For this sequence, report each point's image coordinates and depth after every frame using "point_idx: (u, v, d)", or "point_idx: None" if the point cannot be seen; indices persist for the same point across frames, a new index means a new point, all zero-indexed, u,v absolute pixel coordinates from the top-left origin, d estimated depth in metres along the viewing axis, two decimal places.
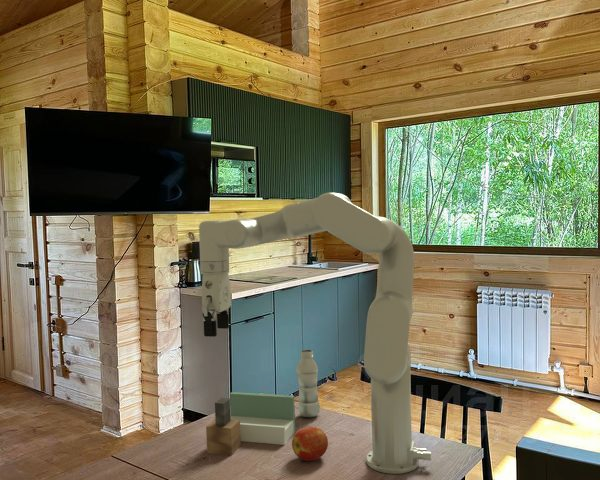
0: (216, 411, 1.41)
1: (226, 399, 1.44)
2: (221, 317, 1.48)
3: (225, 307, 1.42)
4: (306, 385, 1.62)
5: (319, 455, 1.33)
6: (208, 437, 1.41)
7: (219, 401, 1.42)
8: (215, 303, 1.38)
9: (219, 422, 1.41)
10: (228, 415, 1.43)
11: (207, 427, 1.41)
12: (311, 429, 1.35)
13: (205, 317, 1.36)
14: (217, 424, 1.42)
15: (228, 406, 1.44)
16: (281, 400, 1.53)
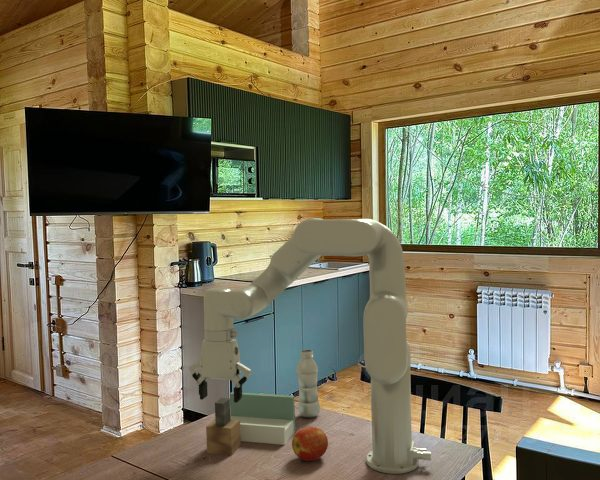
0: (216, 411, 1.41)
1: (226, 399, 1.44)
2: (204, 387, 1.44)
3: None
4: (306, 385, 1.62)
5: (319, 455, 1.33)
6: (208, 437, 1.41)
7: (219, 401, 1.42)
8: None
9: (219, 422, 1.41)
10: (228, 415, 1.43)
11: (207, 427, 1.41)
12: (311, 429, 1.35)
13: (244, 382, 1.41)
14: (217, 424, 1.41)
15: (228, 406, 1.44)
16: (281, 400, 1.53)
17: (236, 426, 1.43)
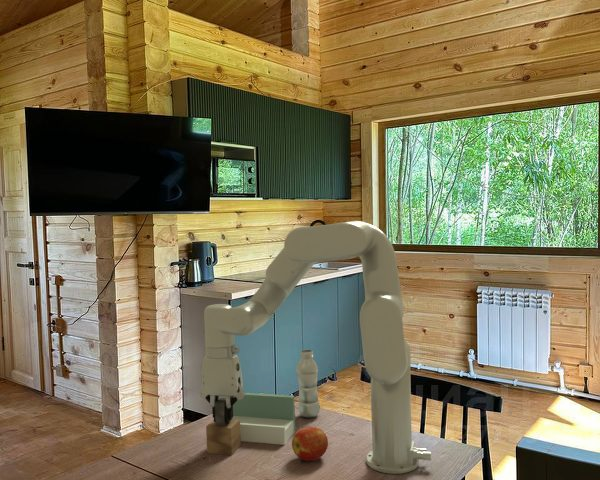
0: (216, 411, 1.41)
1: None
2: None
3: None
4: (306, 385, 1.62)
5: (319, 455, 1.33)
6: (208, 437, 1.41)
7: (219, 401, 1.42)
8: (241, 383, 1.43)
9: (219, 422, 1.41)
10: None
11: (207, 427, 1.41)
12: (311, 429, 1.35)
13: (235, 402, 1.42)
14: (217, 424, 1.41)
15: None
16: (281, 400, 1.53)
17: (236, 426, 1.43)
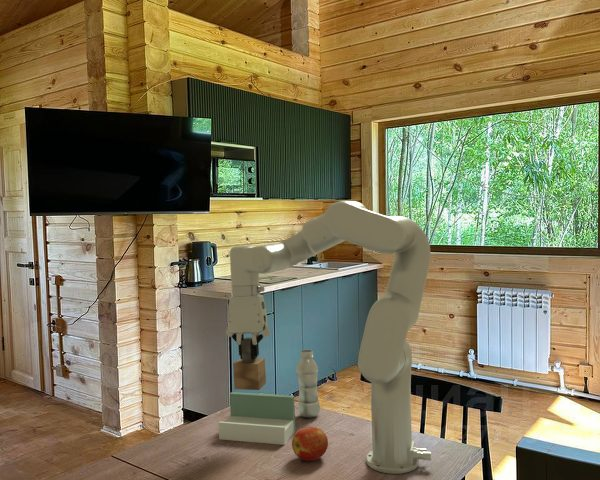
0: (242, 348, 1.46)
1: (251, 338, 1.49)
2: None
3: None
4: (306, 385, 1.62)
5: (319, 455, 1.33)
6: (235, 374, 1.46)
7: (245, 339, 1.48)
8: (266, 321, 1.48)
9: (246, 359, 1.46)
10: None
11: (234, 364, 1.46)
12: (311, 429, 1.35)
13: (260, 339, 1.47)
14: (244, 361, 1.47)
15: None
16: (281, 400, 1.53)
17: (262, 363, 1.48)
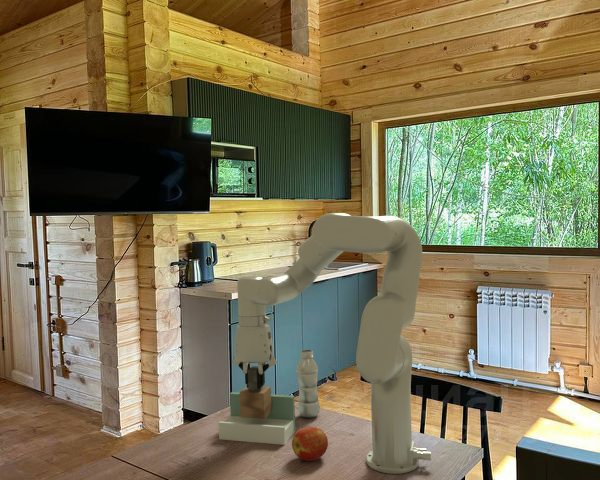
0: (249, 377, 1.49)
1: None
2: None
3: None
4: (306, 385, 1.62)
5: (319, 455, 1.33)
6: (241, 402, 1.49)
7: (251, 368, 1.50)
8: (273, 351, 1.51)
9: (252, 388, 1.49)
10: None
11: (240, 393, 1.49)
12: (311, 429, 1.35)
13: (266, 369, 1.49)
14: (250, 390, 1.49)
15: None
16: (281, 400, 1.53)
17: (268, 392, 1.50)
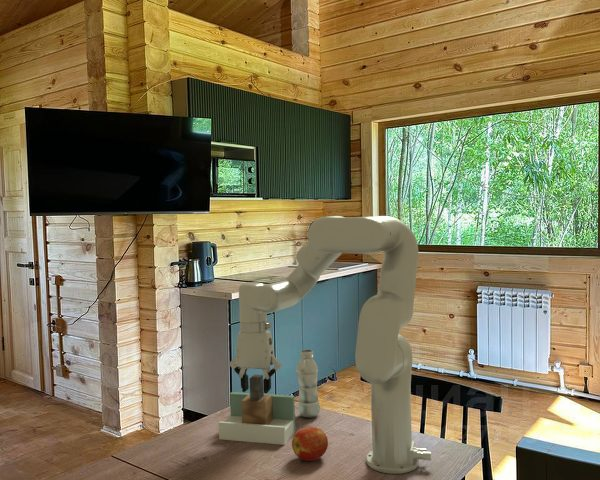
0: (251, 386, 1.50)
1: (259, 375, 1.52)
2: (246, 380, 1.52)
3: None
4: (306, 385, 1.62)
5: (319, 455, 1.33)
6: (243, 411, 1.50)
7: (253, 377, 1.51)
8: None
9: (254, 396, 1.50)
10: (261, 390, 1.52)
11: (242, 401, 1.50)
12: (311, 429, 1.35)
13: None
14: (252, 398, 1.50)
15: (261, 382, 1.52)
16: (281, 400, 1.53)
17: (269, 400, 1.51)
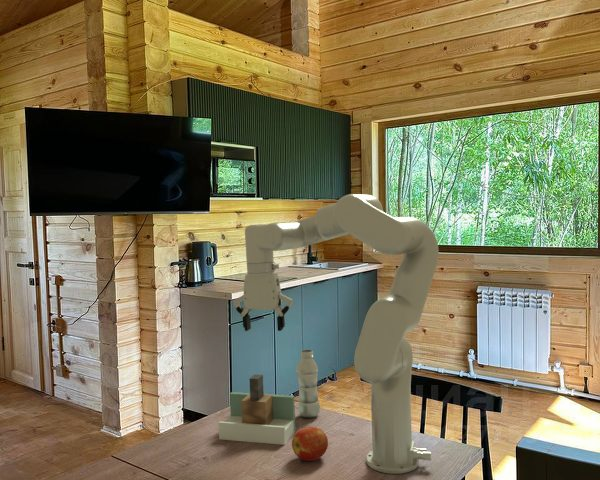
0: (251, 386, 1.50)
1: (259, 375, 1.52)
2: (248, 319, 1.52)
3: None
4: (306, 385, 1.62)
5: (319, 455, 1.33)
6: (243, 411, 1.50)
7: (253, 377, 1.51)
8: (281, 298, 1.51)
9: (254, 396, 1.50)
10: (261, 390, 1.52)
11: (242, 401, 1.50)
12: (311, 429, 1.35)
13: (286, 311, 1.49)
14: (252, 398, 1.50)
15: (261, 382, 1.52)
16: (281, 400, 1.53)
17: (269, 400, 1.51)
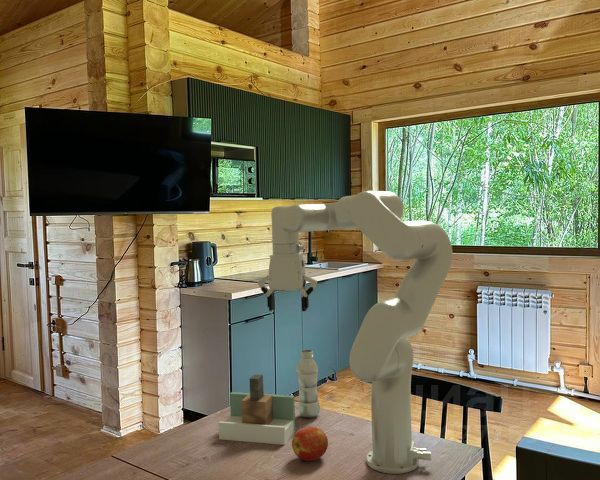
0: (251, 386, 1.50)
1: (259, 375, 1.52)
2: (272, 299, 1.54)
3: None
4: (306, 385, 1.62)
5: (319, 455, 1.33)
6: (243, 411, 1.50)
7: (253, 377, 1.51)
8: (305, 279, 1.53)
9: (254, 396, 1.50)
10: (261, 390, 1.52)
11: (242, 401, 1.50)
12: (311, 429, 1.35)
13: (311, 292, 1.51)
14: (252, 398, 1.50)
15: (261, 382, 1.52)
16: (281, 400, 1.53)
17: (269, 400, 1.51)
